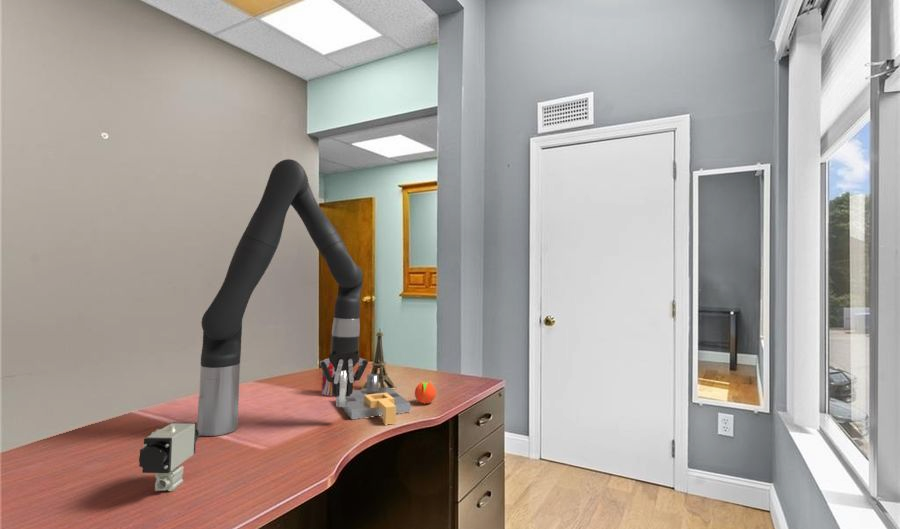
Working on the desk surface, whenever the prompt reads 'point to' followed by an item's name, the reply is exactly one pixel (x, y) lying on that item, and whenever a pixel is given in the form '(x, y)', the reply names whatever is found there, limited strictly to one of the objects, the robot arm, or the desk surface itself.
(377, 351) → the eiffel tower
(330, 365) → the beverage can
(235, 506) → the desk surface
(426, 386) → the clementine
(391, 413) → the bracket
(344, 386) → the silver metal cylinder
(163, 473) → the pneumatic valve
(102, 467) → the desk surface
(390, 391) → the gray fixture base
